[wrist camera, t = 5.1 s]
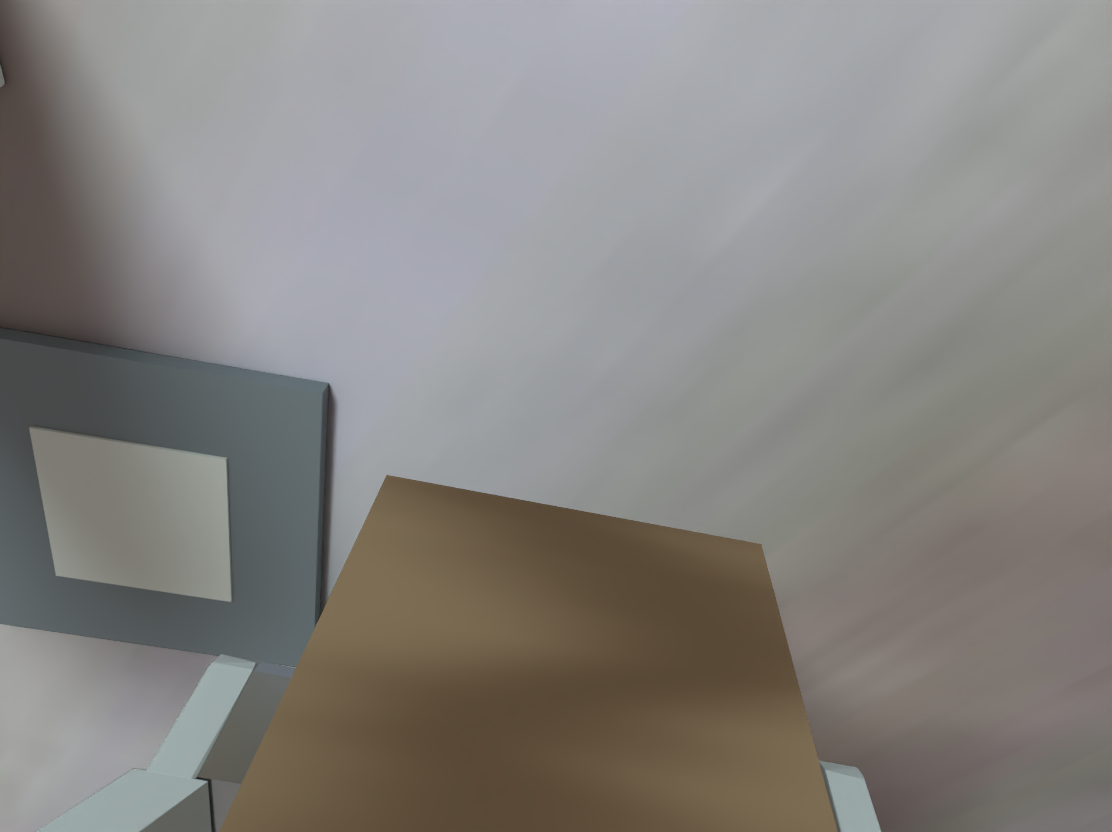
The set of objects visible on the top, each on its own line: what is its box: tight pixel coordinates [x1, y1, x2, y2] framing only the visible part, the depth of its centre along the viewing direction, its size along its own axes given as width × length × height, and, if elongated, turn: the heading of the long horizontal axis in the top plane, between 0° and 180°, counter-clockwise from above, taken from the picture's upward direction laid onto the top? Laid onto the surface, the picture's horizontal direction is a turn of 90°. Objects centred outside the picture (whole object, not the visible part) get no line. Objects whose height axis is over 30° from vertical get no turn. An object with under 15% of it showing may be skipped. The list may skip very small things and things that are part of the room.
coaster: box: [0, 328, 329, 667], centre depth 24 cm, size 11×11×1 cm
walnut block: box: [219, 475, 837, 832], centre depth 9 cm, size 5×5×5 cm
